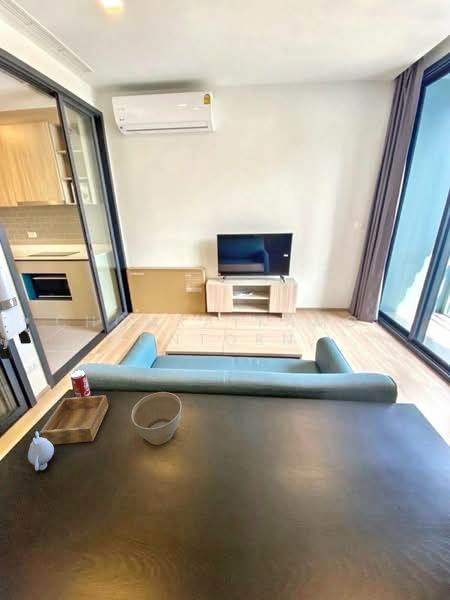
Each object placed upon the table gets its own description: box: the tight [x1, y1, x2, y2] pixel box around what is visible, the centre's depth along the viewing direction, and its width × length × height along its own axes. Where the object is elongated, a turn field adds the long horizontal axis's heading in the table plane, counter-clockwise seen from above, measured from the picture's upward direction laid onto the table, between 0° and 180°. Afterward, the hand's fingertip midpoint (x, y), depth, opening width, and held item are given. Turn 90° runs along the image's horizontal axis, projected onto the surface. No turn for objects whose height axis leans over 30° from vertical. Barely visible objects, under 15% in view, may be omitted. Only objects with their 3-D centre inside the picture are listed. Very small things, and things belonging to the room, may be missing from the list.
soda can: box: [70, 369, 92, 397], centre depth 101 cm, size 5×5×12 cm
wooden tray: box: [39, 394, 109, 446], centre depth 90 cm, size 16×16×6 cm
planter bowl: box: [130, 391, 182, 446], centre depth 85 cm, size 16×16×11 cm
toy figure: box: [27, 431, 55, 472], centre depth 74 cm, size 11×6×12 cm, turn 21°
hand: (17, 350), depth 86 cm, fingers open, 9 cm apart
